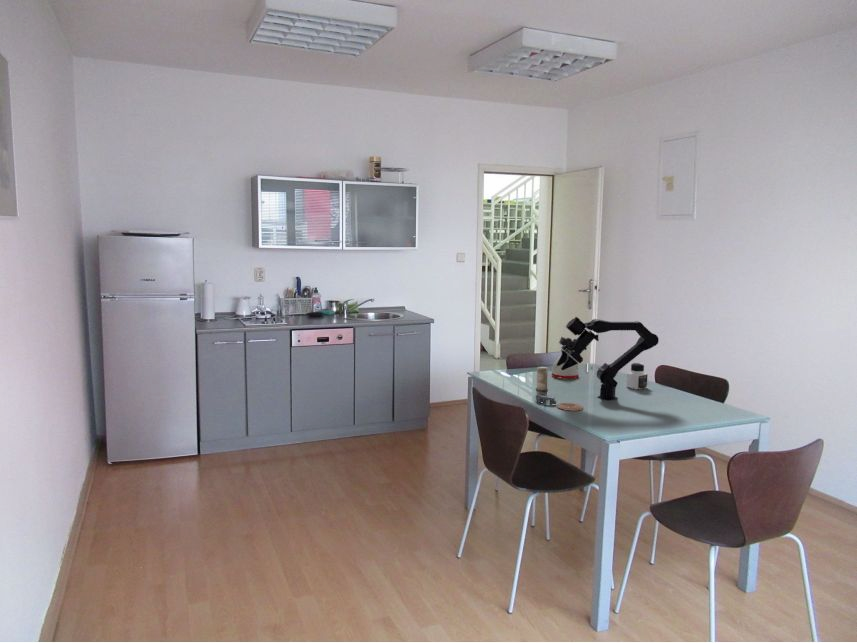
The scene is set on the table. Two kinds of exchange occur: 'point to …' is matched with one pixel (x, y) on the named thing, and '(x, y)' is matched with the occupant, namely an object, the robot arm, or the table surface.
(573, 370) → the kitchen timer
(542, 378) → the birch ring post
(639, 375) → the medicine bottle
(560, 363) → the robot arm
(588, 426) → the table surface
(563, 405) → the terracotta coaster
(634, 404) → the table surface
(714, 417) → the table surface
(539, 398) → the grey angled bracket
